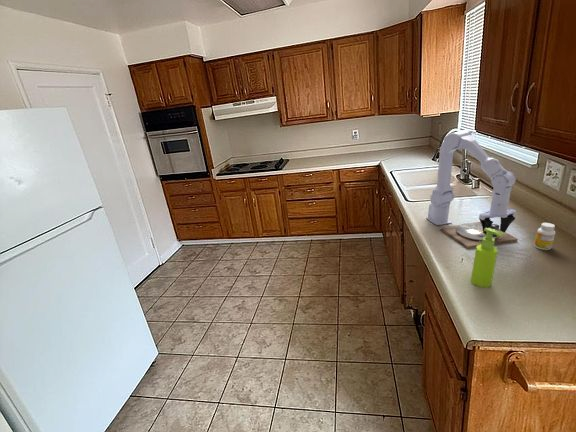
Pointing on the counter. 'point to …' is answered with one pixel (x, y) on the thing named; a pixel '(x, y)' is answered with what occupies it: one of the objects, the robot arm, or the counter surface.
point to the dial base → (474, 243)
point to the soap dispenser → (485, 259)
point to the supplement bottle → (545, 236)
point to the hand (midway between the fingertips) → (494, 232)
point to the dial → (474, 231)
